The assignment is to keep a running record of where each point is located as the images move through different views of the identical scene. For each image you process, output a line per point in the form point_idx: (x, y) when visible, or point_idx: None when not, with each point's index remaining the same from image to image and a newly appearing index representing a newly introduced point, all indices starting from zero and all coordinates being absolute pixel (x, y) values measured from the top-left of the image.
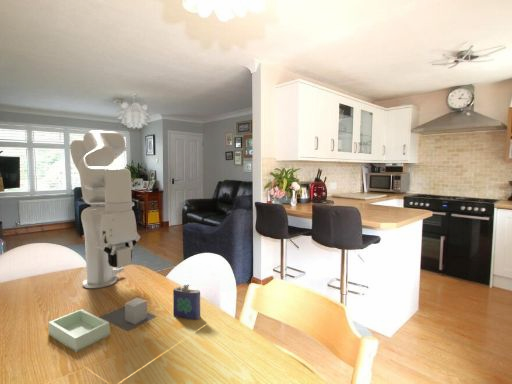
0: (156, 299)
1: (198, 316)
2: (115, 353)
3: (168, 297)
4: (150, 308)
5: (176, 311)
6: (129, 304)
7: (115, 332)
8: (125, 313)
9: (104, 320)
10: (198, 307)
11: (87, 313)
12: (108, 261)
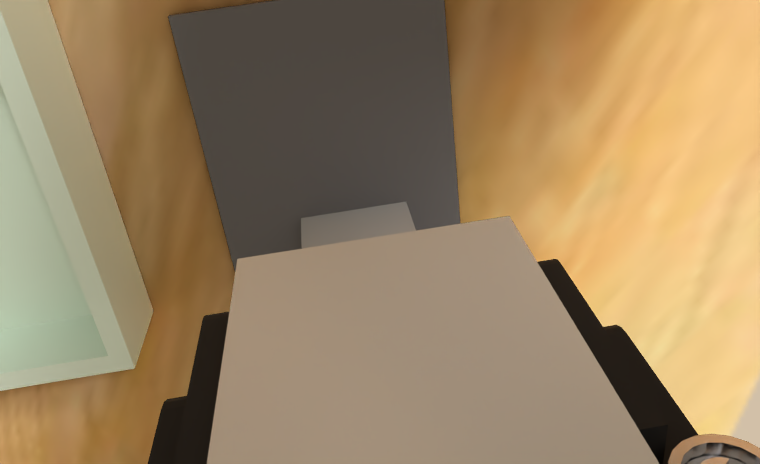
0: (647, 70)
1: None
2: (128, 459)
3: (721, 113)
4: (517, 174)
5: None
6: None
7: (195, 295)
8: (302, 245)
9: (116, 324)
10: None
11: (25, 122)
12: (160, 424)
